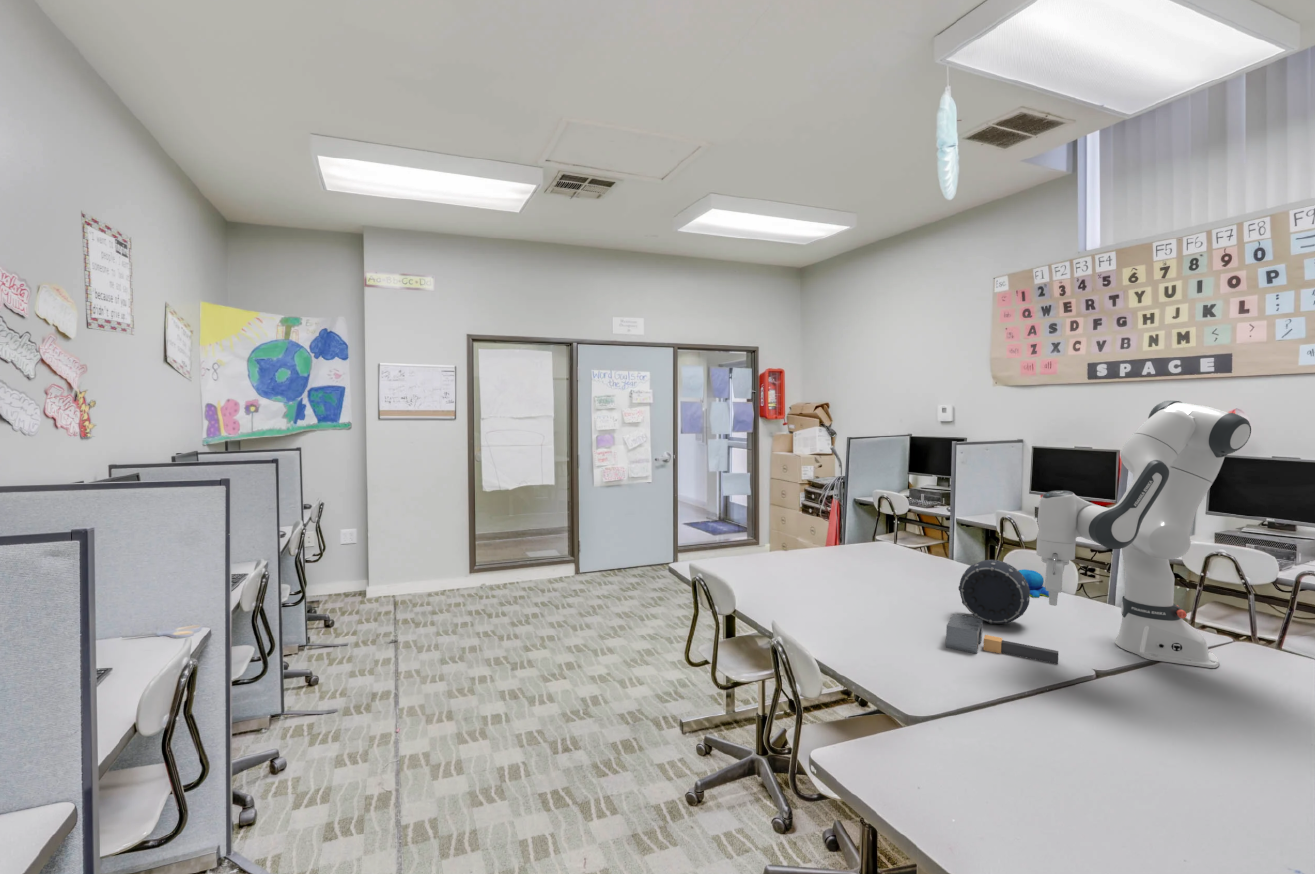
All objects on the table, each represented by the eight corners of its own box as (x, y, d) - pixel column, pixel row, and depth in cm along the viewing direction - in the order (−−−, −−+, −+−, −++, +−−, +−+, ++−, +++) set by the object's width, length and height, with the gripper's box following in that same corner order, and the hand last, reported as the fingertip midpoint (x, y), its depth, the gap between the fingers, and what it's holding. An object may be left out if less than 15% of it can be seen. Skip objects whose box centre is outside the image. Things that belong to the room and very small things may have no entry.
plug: (1058, 660, 167) (1058, 648, 166) (1057, 665, 164) (1058, 652, 164) (984, 646, 177) (985, 634, 177) (983, 650, 174) (983, 638, 174)
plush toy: (1001, 594, 227) (1001, 572, 227) (1002, 582, 242) (1002, 562, 241) (1054, 601, 218) (1054, 578, 218) (1051, 589, 233) (1052, 567, 233)
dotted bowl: (1026, 633, 186) (1028, 569, 185) (955, 619, 199) (957, 559, 198) (1030, 623, 195) (1032, 562, 194) (962, 610, 207) (964, 553, 206)
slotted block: (982, 640, 181) (982, 619, 181) (976, 653, 171) (977, 631, 171) (952, 634, 185) (953, 613, 185) (946, 647, 176) (946, 625, 175)
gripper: (1069, 559, 154) (1067, 613, 155) (1069, 544, 171) (1067, 593, 172) (1040, 556, 158) (1038, 608, 158) (1043, 541, 175) (1041, 589, 175)
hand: (1053, 600), depth 165 cm, fingers open, 8 cm apart
